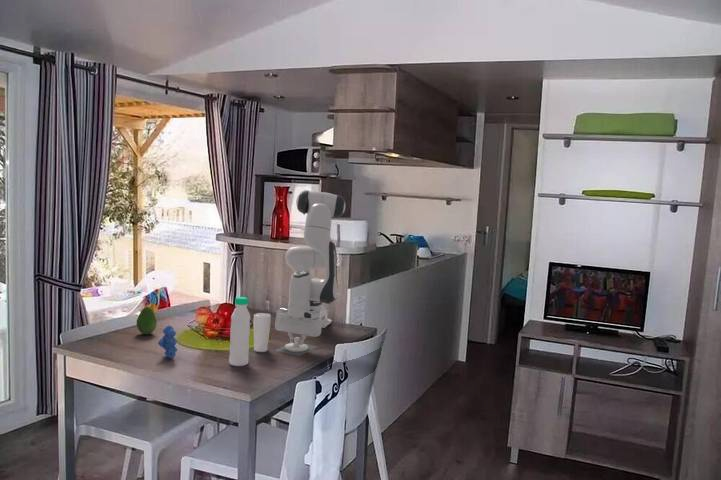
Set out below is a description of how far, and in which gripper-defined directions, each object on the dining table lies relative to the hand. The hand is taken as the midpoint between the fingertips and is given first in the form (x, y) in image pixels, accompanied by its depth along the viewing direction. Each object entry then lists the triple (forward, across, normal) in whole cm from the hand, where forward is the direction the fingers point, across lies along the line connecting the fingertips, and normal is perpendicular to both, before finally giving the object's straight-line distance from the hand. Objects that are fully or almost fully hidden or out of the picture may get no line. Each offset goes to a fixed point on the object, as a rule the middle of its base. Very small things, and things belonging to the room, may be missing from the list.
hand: (296, 343), depth 227 cm
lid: (+2, 0, 0) cm, 2 cm away
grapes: (+3, -35, -37) cm, 51 cm away
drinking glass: (+3, -11, -10) cm, 15 cm away
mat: (+3, 0, 0) cm, 3 cm away
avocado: (+3, -64, -17) cm, 66 cm away
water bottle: (+3, -9, -28) cm, 30 cm away
